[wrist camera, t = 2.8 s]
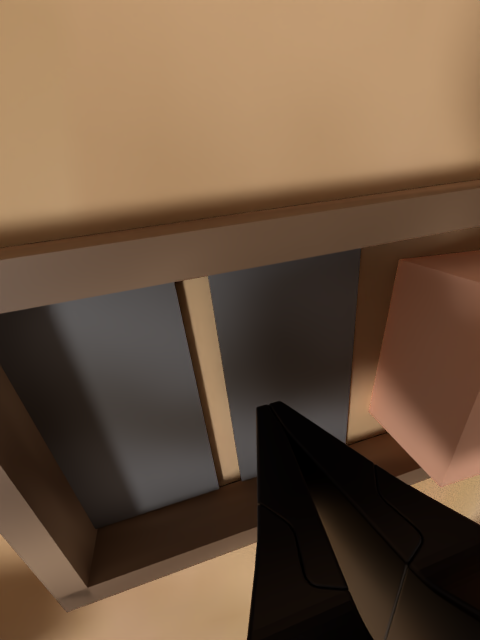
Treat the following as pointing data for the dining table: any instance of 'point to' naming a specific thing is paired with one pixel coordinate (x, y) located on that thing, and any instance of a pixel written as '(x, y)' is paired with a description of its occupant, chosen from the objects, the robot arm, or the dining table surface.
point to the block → (433, 365)
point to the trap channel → (178, 377)
